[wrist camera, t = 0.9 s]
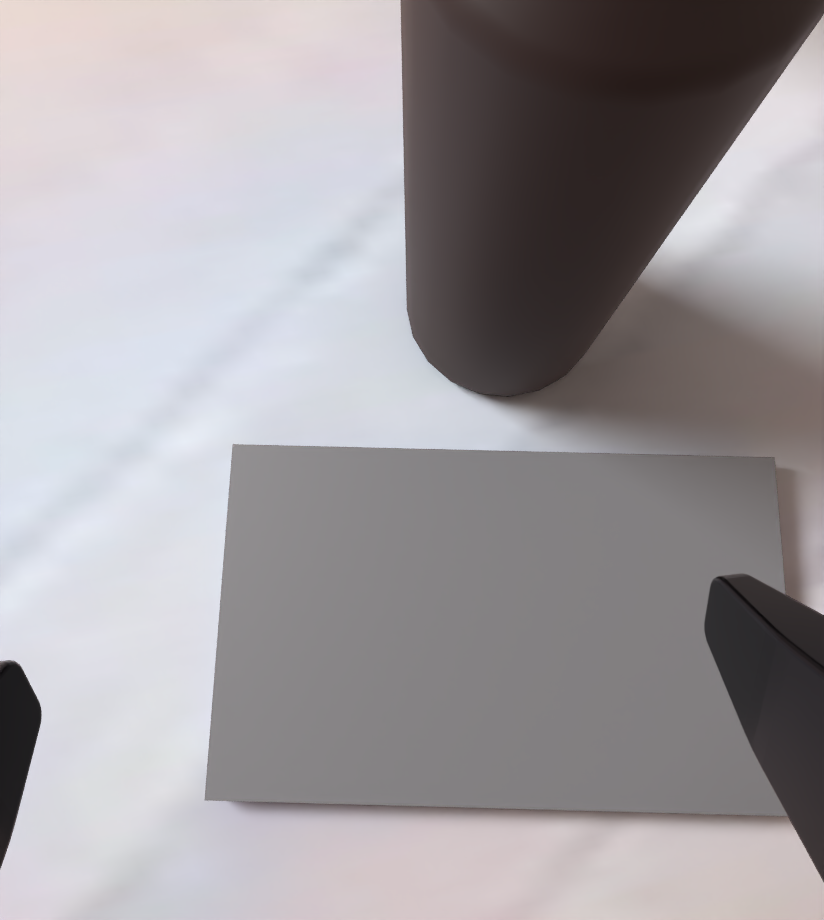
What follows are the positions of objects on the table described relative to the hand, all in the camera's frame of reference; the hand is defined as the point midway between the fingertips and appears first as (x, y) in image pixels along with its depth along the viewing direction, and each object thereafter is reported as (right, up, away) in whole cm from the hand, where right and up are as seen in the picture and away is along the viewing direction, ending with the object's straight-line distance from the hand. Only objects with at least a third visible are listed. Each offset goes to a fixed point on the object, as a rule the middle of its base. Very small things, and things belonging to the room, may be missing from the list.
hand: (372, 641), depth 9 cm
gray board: (+3, -3, +14) cm, 14 cm away
